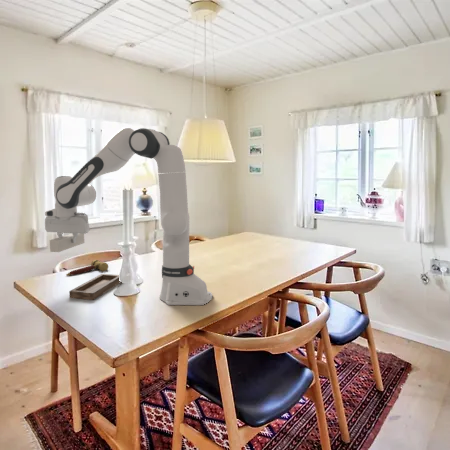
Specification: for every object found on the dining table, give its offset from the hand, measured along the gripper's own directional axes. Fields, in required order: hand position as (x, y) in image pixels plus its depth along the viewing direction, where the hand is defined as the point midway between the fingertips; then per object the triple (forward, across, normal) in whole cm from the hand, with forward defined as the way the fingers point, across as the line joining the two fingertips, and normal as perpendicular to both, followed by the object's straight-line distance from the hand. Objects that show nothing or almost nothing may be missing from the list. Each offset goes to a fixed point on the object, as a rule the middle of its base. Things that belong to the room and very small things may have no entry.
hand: (68, 242), depth 162 cm
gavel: (+22, +7, -23) cm, 33 cm away
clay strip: (+2, 0, 0) cm, 2 cm away
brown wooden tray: (+21, -14, 0) cm, 25 cm away
